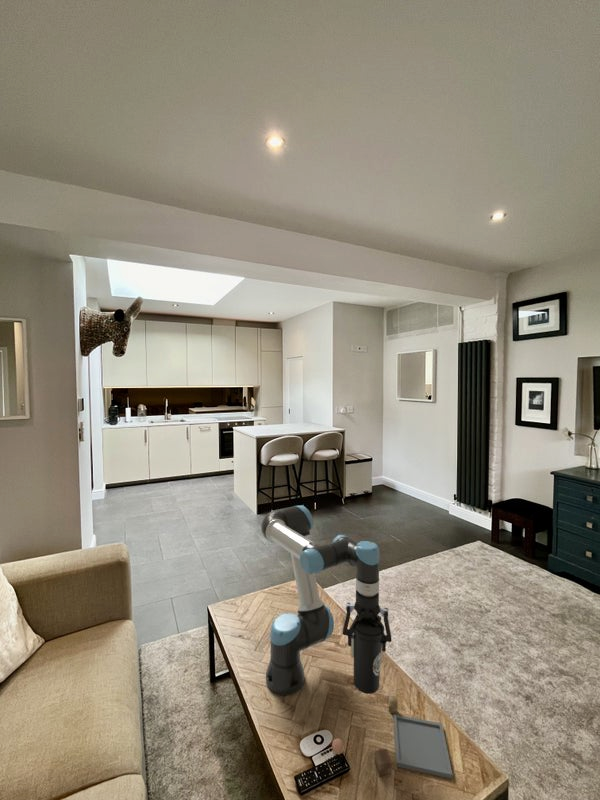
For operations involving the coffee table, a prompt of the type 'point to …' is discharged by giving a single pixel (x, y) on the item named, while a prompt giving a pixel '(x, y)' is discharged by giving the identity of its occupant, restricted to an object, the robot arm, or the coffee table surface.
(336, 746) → the rubber ball
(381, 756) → the walnut cube
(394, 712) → the cylinder
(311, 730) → the coffee table surface
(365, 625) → the water bottle
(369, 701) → the coffee table surface
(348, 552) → the robot arm
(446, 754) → the tray
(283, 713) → the coffee table surface
